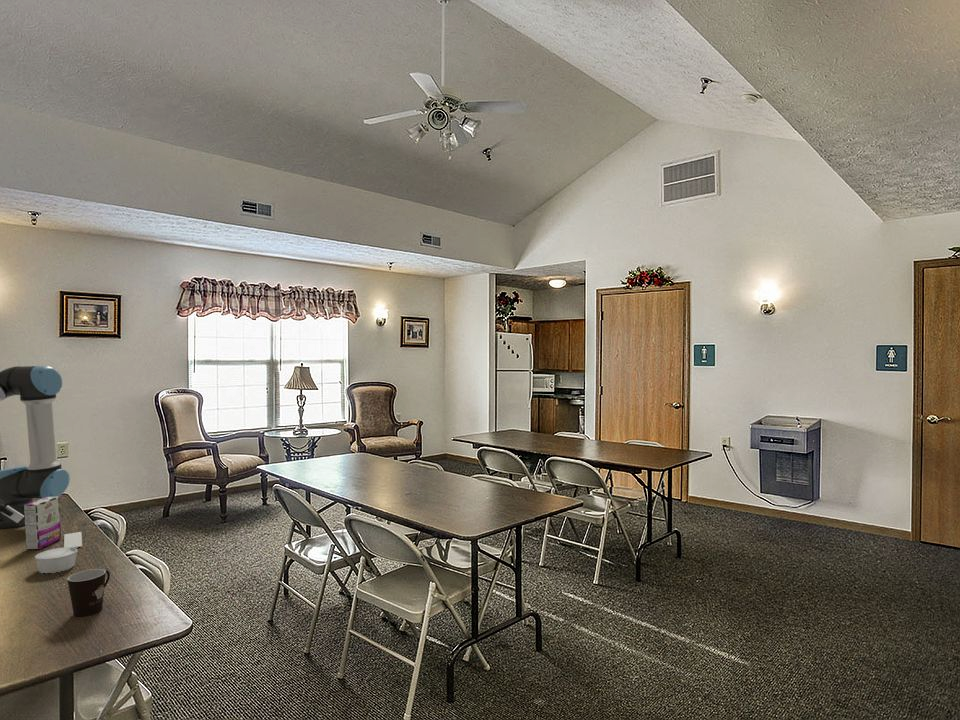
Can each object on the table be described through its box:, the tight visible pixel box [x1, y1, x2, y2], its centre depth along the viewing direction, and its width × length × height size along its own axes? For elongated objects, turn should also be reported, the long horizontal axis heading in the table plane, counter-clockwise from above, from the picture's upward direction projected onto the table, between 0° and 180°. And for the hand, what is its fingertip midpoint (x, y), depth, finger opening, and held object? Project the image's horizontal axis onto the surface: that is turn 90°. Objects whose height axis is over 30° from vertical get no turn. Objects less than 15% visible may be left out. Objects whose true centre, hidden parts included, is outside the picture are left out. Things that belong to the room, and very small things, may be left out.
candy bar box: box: [24, 496, 62, 550], centre depth 214 cm, size 11×5×16 cm, turn 179°
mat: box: [63, 531, 83, 549], centre depth 218 cm, size 20×5×1 cm, turn 35°
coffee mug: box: [66, 568, 111, 618], centre depth 160 cm, size 12×9×10 cm
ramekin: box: [34, 546, 78, 575], centre depth 191 cm, size 11×11×5 cm
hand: (20, 519), depth 210 cm, fingers closed
